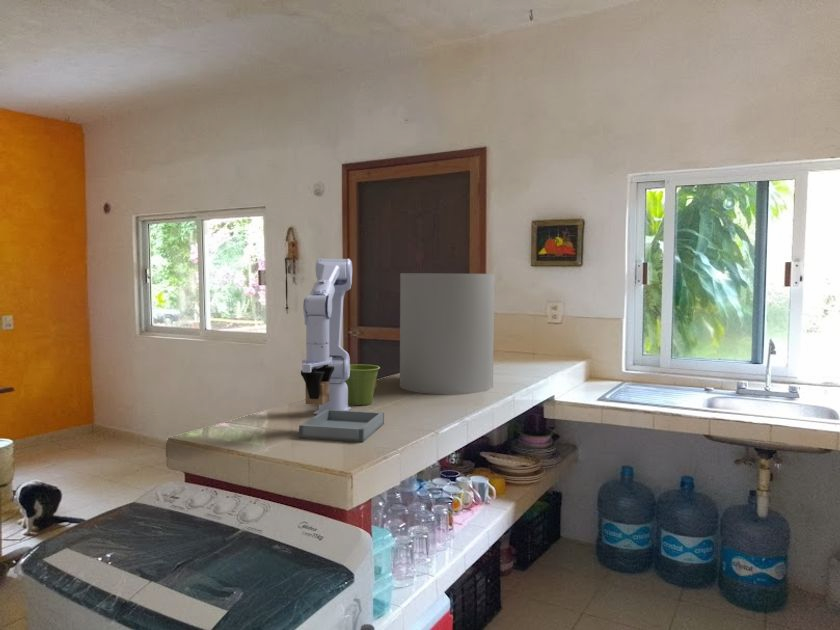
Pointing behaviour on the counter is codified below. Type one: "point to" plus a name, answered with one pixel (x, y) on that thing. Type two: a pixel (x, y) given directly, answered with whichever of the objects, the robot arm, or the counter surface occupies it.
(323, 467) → the counter surface
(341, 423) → the bin
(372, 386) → the plant pot
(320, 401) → the block
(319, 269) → the robot arm
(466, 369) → the cylinder container
